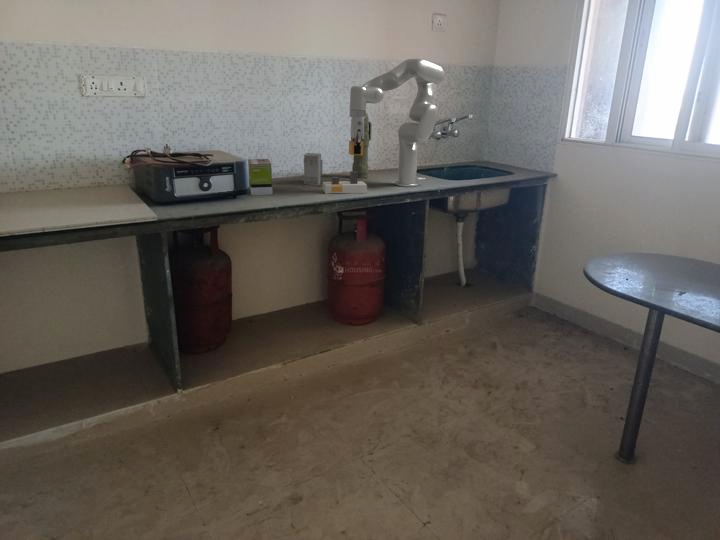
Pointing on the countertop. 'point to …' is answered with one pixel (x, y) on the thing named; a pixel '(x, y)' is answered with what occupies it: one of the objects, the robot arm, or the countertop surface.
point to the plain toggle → (353, 177)
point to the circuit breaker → (312, 168)
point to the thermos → (361, 160)
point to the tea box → (260, 176)
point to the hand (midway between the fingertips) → (355, 152)
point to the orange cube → (351, 148)
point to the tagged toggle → (335, 180)
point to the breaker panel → (344, 187)
